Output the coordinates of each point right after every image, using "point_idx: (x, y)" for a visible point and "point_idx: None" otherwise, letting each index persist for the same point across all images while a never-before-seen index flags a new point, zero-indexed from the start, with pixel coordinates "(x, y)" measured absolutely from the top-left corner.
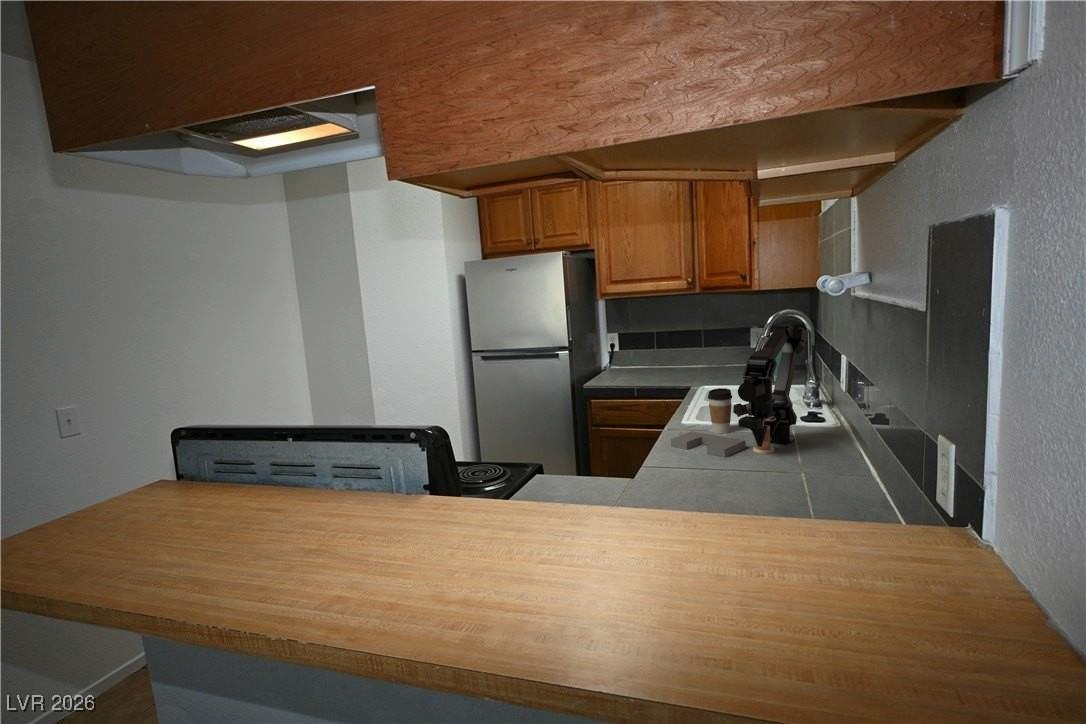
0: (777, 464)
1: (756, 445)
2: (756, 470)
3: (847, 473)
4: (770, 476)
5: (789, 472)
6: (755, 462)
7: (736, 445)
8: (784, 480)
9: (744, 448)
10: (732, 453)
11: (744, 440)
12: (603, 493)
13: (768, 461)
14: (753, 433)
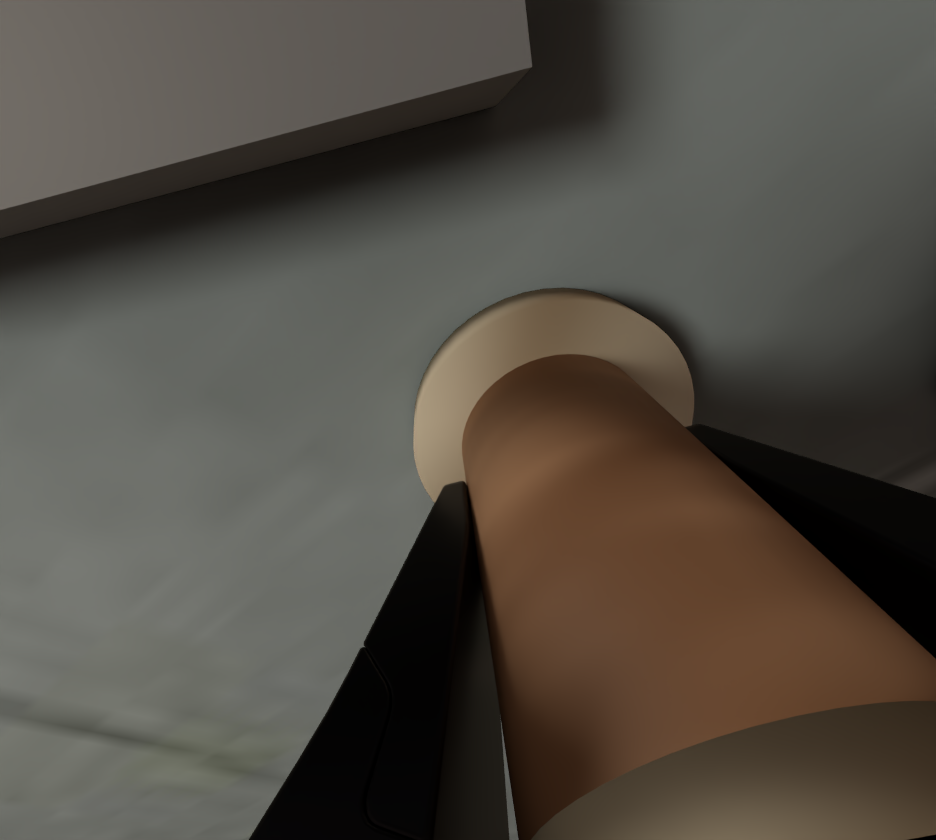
0: (327, 692)
1: (496, 408)
2: (72, 716)
3: (511, 830)
4: (114, 789)
5: (281, 780)
6: (183, 609)
7: (86, 194)
8: (161, 826)
9: (452, 117)
10: (36, 226)
11: (511, 44)
12: None
13: (317, 634)
14: (306, 770)
